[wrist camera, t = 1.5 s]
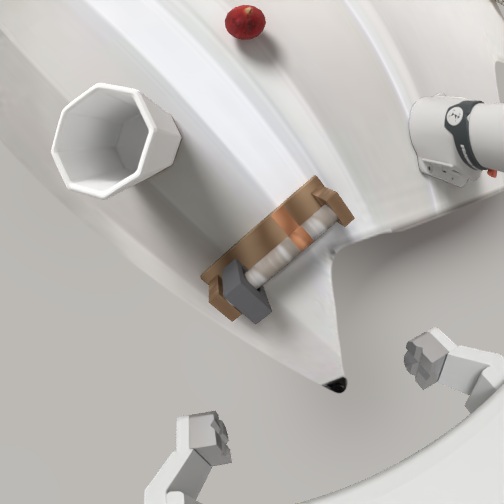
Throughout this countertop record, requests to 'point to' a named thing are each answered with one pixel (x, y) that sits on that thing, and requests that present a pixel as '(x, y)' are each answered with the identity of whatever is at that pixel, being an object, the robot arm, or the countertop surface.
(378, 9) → the countertop surface
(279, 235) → the pipe rack
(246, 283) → the collar
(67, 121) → the cup
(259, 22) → the onion
